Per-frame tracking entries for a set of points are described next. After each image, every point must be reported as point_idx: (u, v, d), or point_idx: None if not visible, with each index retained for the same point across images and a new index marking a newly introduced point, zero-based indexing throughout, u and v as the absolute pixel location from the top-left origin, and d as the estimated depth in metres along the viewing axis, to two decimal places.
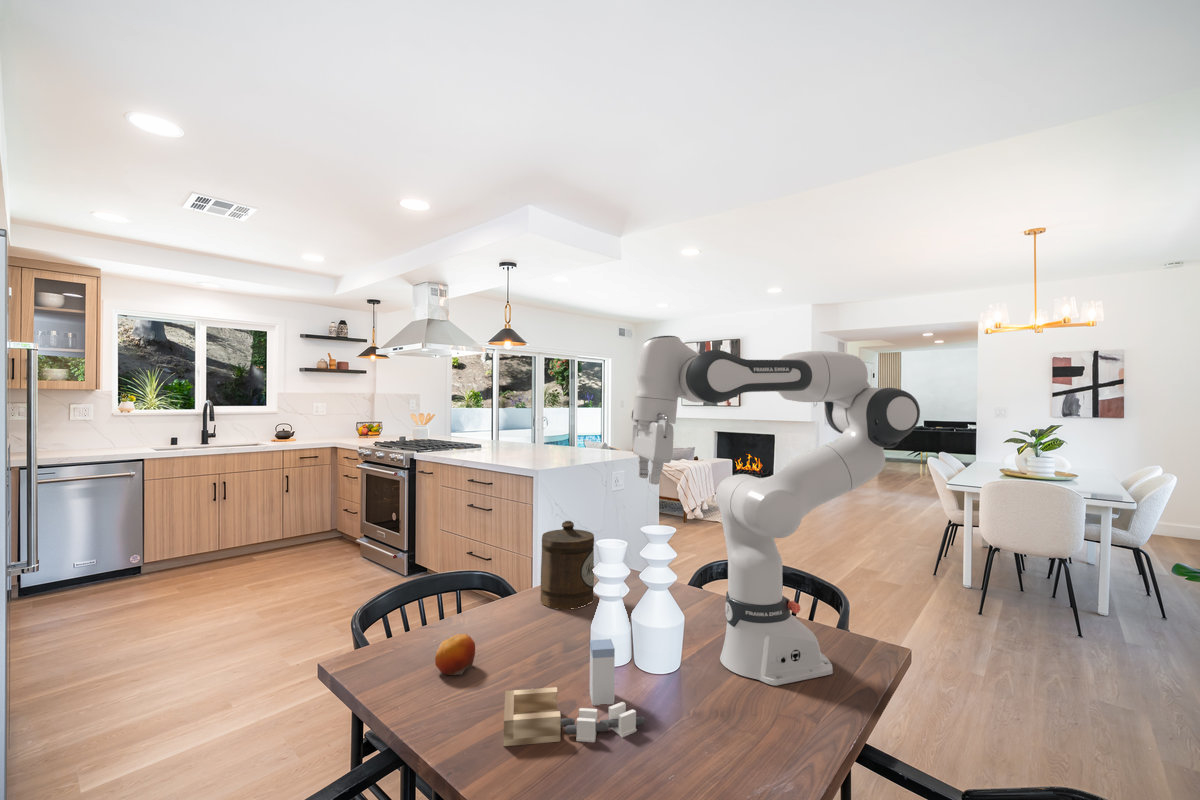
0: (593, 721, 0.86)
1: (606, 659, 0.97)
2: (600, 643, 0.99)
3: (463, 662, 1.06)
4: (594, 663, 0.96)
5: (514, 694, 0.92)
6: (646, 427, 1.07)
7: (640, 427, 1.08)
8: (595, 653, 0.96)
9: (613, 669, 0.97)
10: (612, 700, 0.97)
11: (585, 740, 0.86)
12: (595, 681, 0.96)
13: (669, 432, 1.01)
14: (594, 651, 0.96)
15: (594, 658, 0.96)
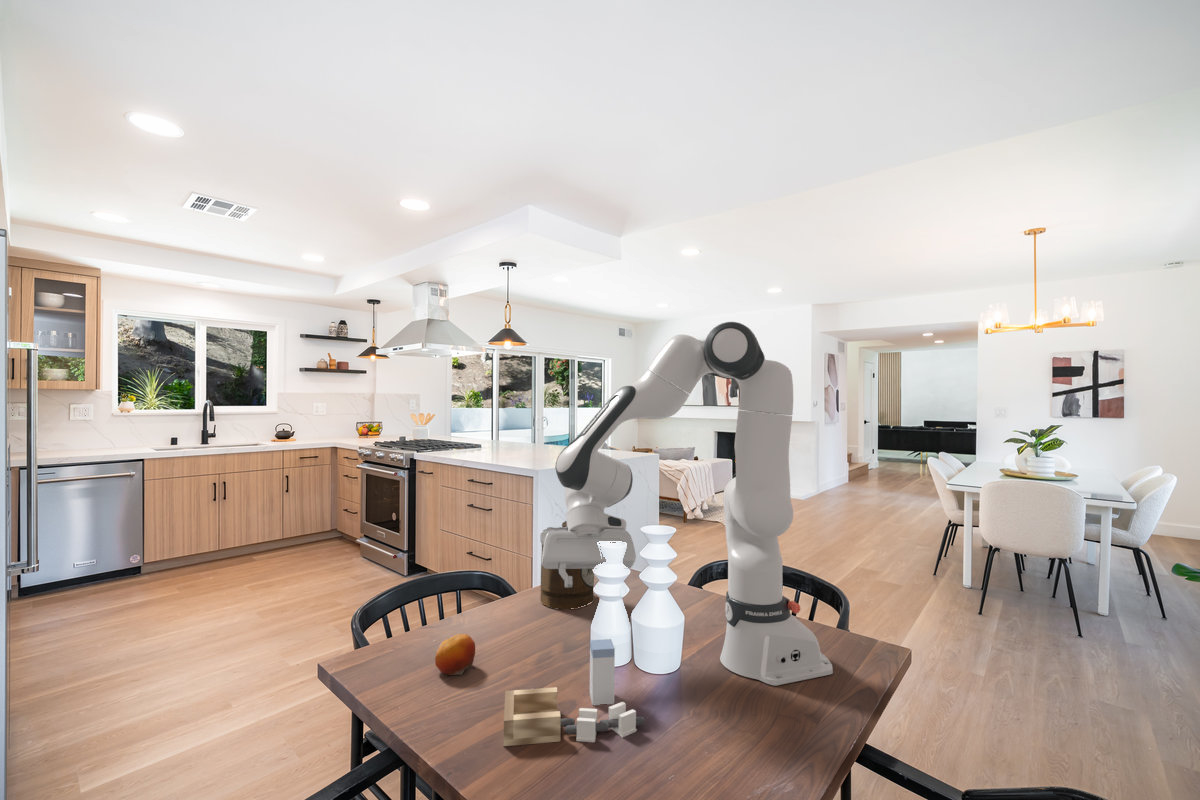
0: (593, 721, 0.86)
1: (607, 659, 0.97)
2: (600, 643, 0.99)
3: (463, 662, 1.06)
4: (594, 663, 0.96)
5: (514, 694, 0.92)
6: None
7: None
8: (595, 653, 0.96)
9: (613, 669, 0.97)
10: (612, 700, 0.97)
11: (585, 740, 0.86)
12: (595, 681, 0.96)
13: (545, 539, 1.16)
14: (594, 651, 0.96)
15: (594, 658, 0.96)
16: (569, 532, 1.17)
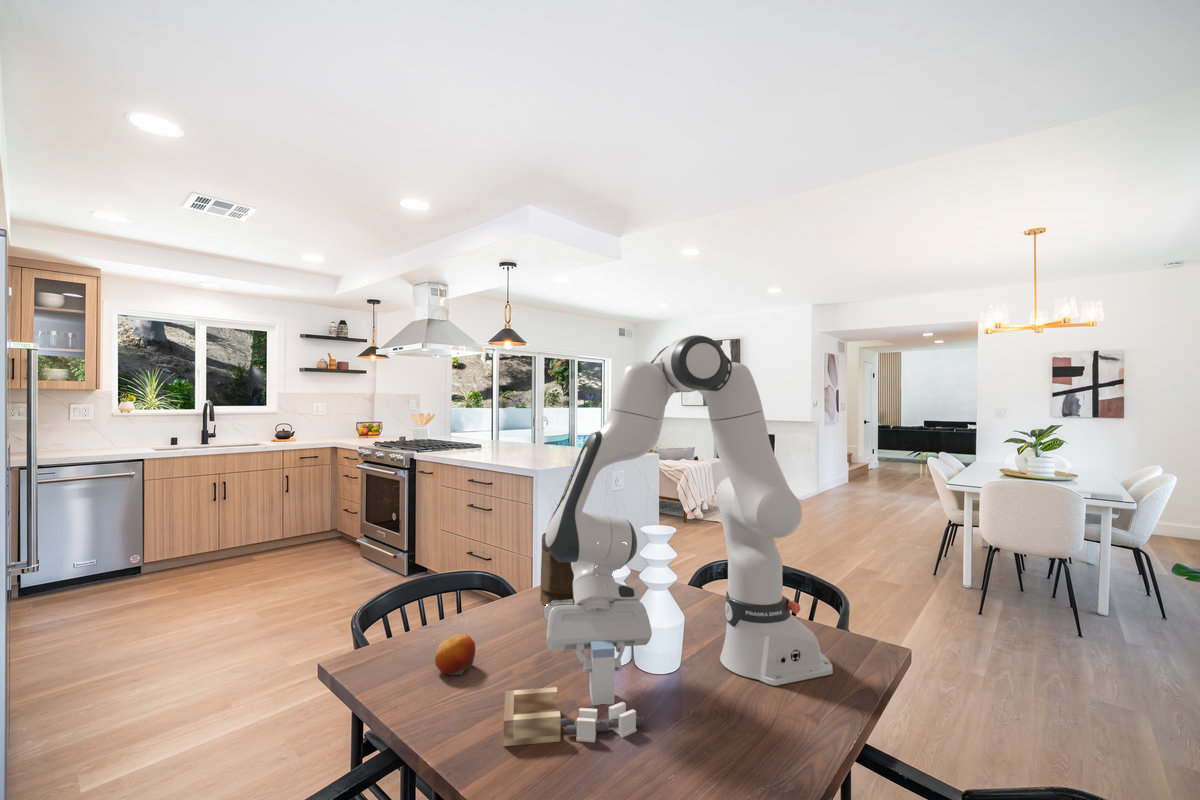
0: (593, 721, 0.86)
1: (607, 659, 0.97)
2: (600, 643, 0.99)
3: (463, 662, 1.06)
4: (594, 663, 0.96)
5: (514, 694, 0.92)
6: None
7: None
8: (595, 653, 0.96)
9: (613, 669, 0.97)
10: (612, 700, 0.97)
11: (585, 740, 0.86)
12: (595, 681, 0.96)
13: (549, 615, 1.03)
14: (594, 651, 0.96)
15: (594, 658, 0.96)
16: (575, 607, 1.04)
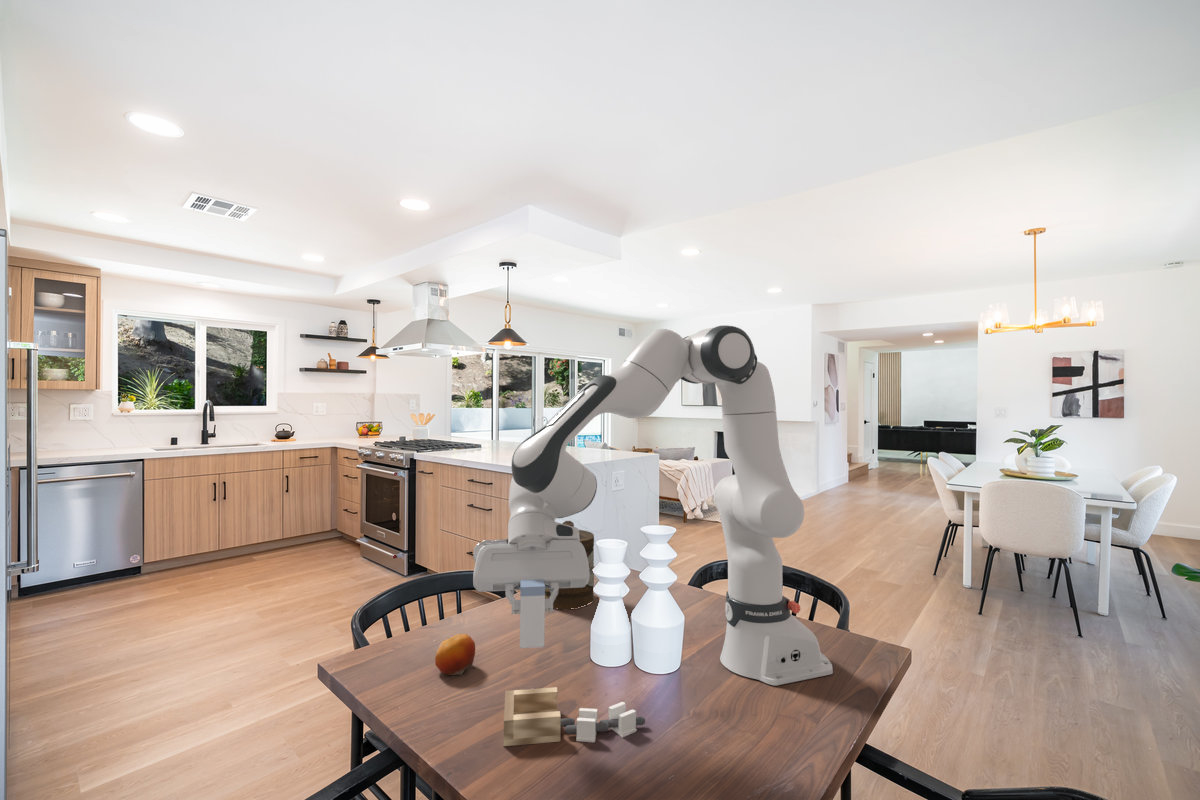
0: (593, 721, 0.86)
1: (536, 598, 0.88)
2: (530, 582, 0.90)
3: (463, 662, 1.06)
4: (522, 602, 0.88)
5: (514, 694, 0.92)
6: None
7: None
8: (523, 591, 0.88)
9: (543, 609, 0.88)
10: (542, 643, 0.88)
11: (585, 740, 0.86)
12: (523, 621, 0.88)
13: None
14: (522, 589, 0.88)
15: (522, 596, 0.88)
16: (507, 546, 0.96)
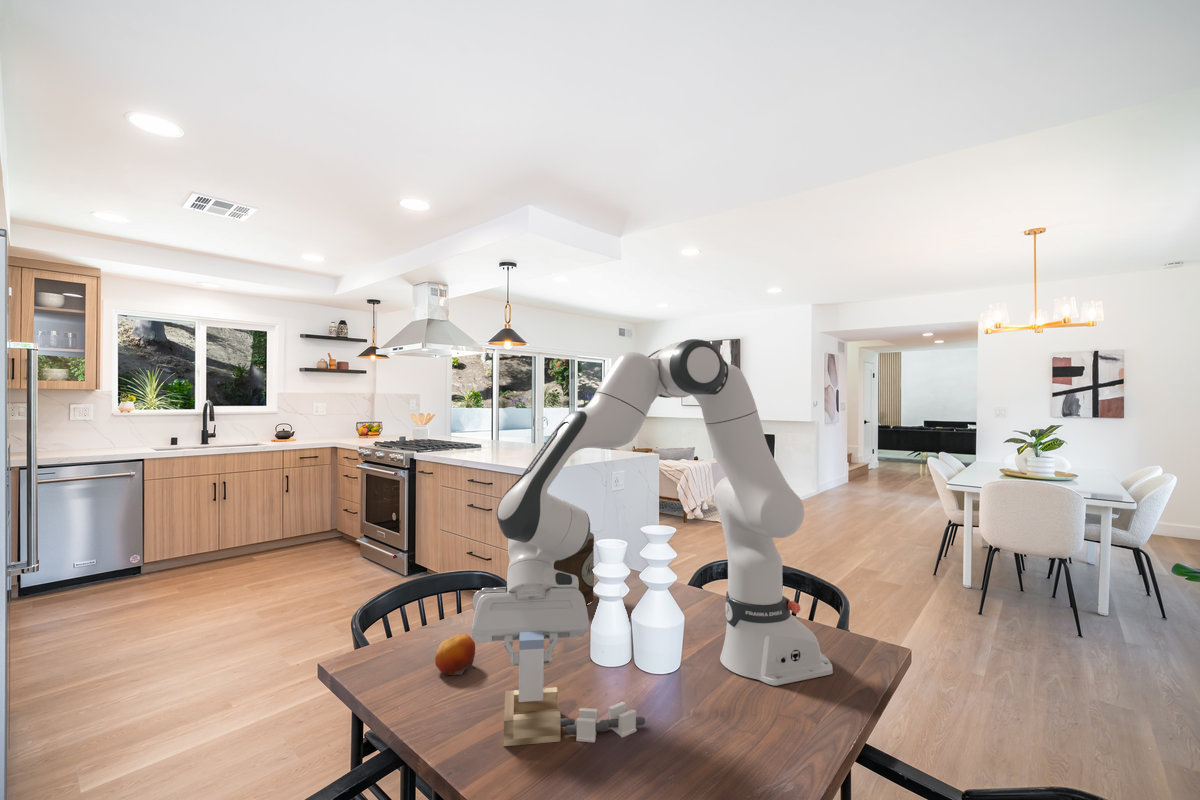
0: (593, 721, 0.86)
1: (535, 651, 0.88)
2: (529, 634, 0.90)
3: (463, 662, 1.06)
4: (521, 655, 0.88)
5: (514, 694, 0.92)
6: None
7: None
8: (522, 644, 0.88)
9: (542, 662, 0.88)
10: (541, 696, 0.88)
11: (585, 740, 0.86)
12: (522, 675, 0.88)
13: None
14: (521, 642, 0.88)
15: (520, 650, 0.88)
16: (507, 595, 0.95)
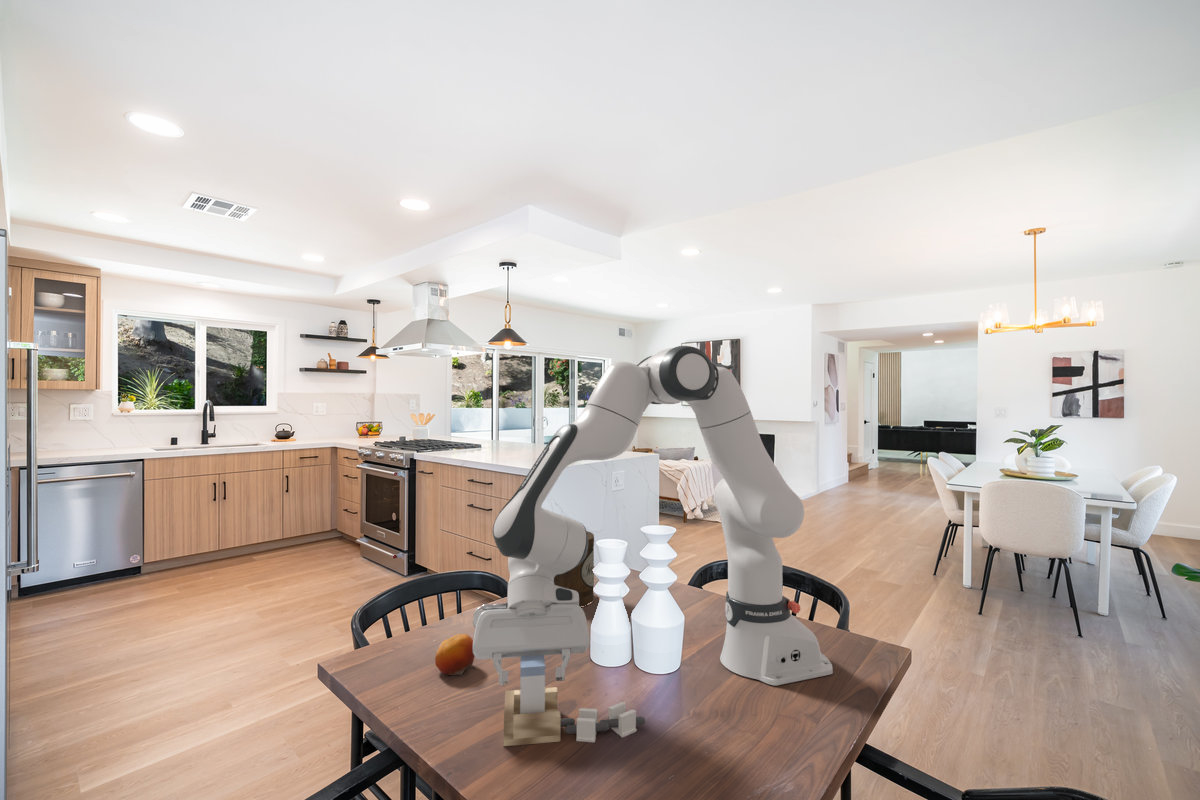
0: (593, 721, 0.86)
1: (536, 678, 0.88)
2: (530, 660, 0.90)
3: (463, 662, 1.06)
4: (522, 682, 0.88)
5: (514, 694, 0.92)
6: None
7: None
8: (523, 671, 0.88)
9: (543, 689, 0.88)
10: None
11: (585, 740, 0.86)
12: (523, 702, 0.88)
13: None
14: (522, 669, 0.88)
15: (522, 677, 0.88)
16: (507, 611, 0.95)
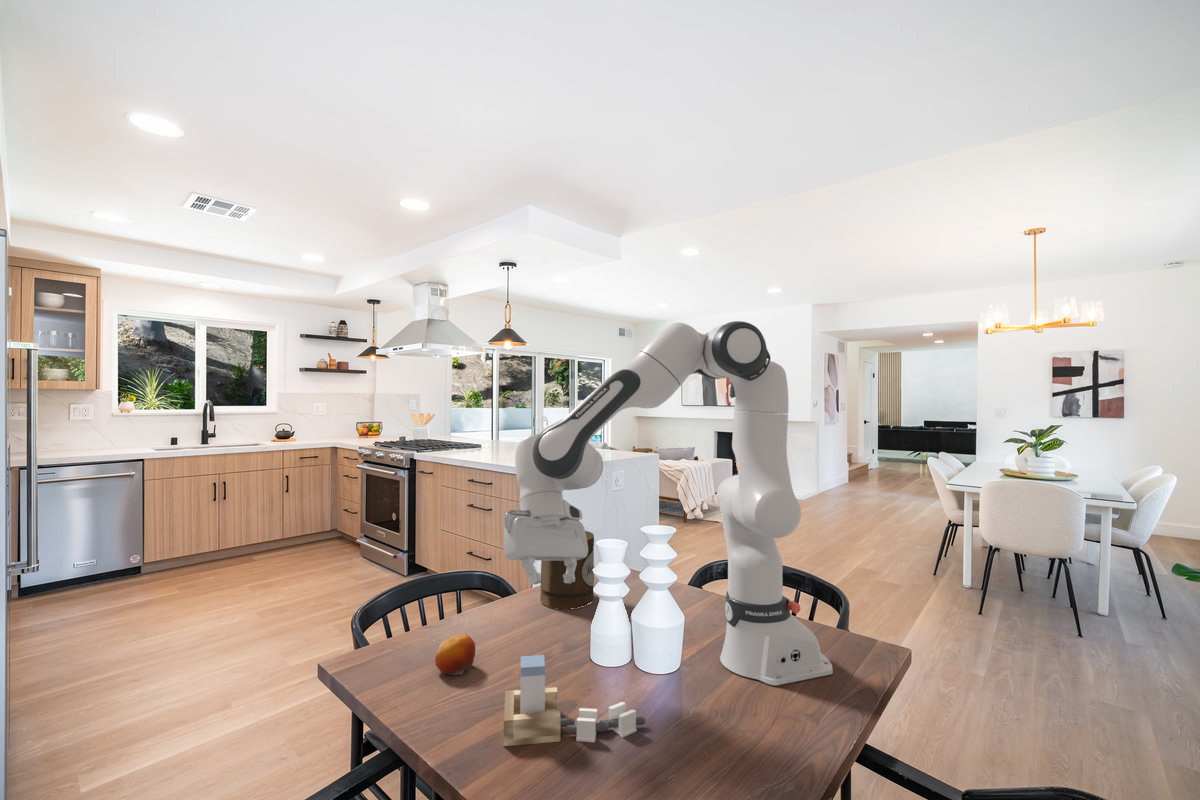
0: (593, 721, 0.86)
1: (536, 678, 0.88)
2: (530, 660, 0.90)
3: (463, 662, 1.06)
4: (522, 682, 0.88)
5: (514, 694, 0.92)
6: None
7: None
8: (523, 671, 0.88)
9: (543, 689, 0.88)
10: None
11: (585, 740, 0.86)
12: (523, 702, 0.88)
13: (512, 525, 0.99)
14: (522, 669, 0.88)
15: (522, 677, 0.88)
16: (535, 520, 1.03)
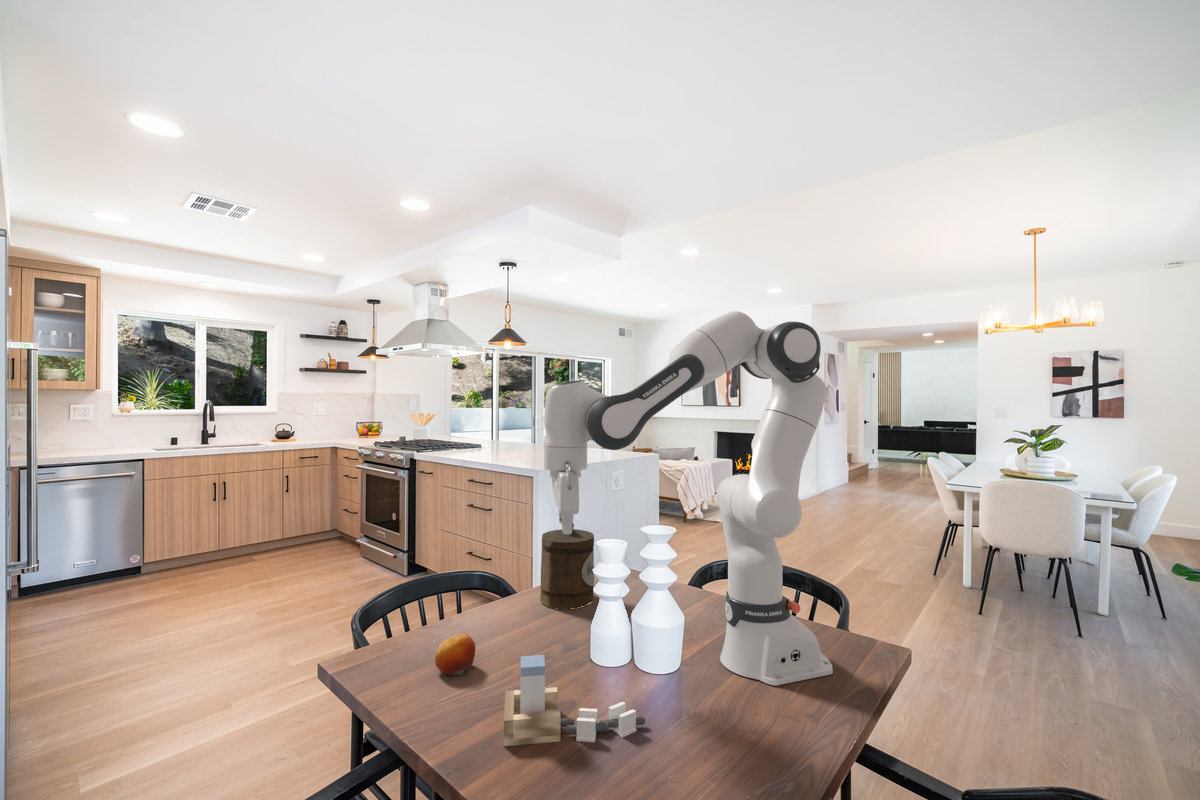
0: (593, 721, 0.86)
1: (536, 678, 0.88)
2: (530, 660, 0.90)
3: (463, 662, 1.06)
4: (522, 682, 0.88)
5: (514, 694, 0.92)
6: (556, 476, 1.06)
7: (551, 476, 1.08)
8: (523, 671, 0.88)
9: (543, 689, 0.88)
10: None
11: (585, 740, 0.86)
12: (523, 702, 0.88)
13: (574, 483, 1.00)
14: (522, 669, 0.88)
15: (522, 677, 0.88)
16: None
